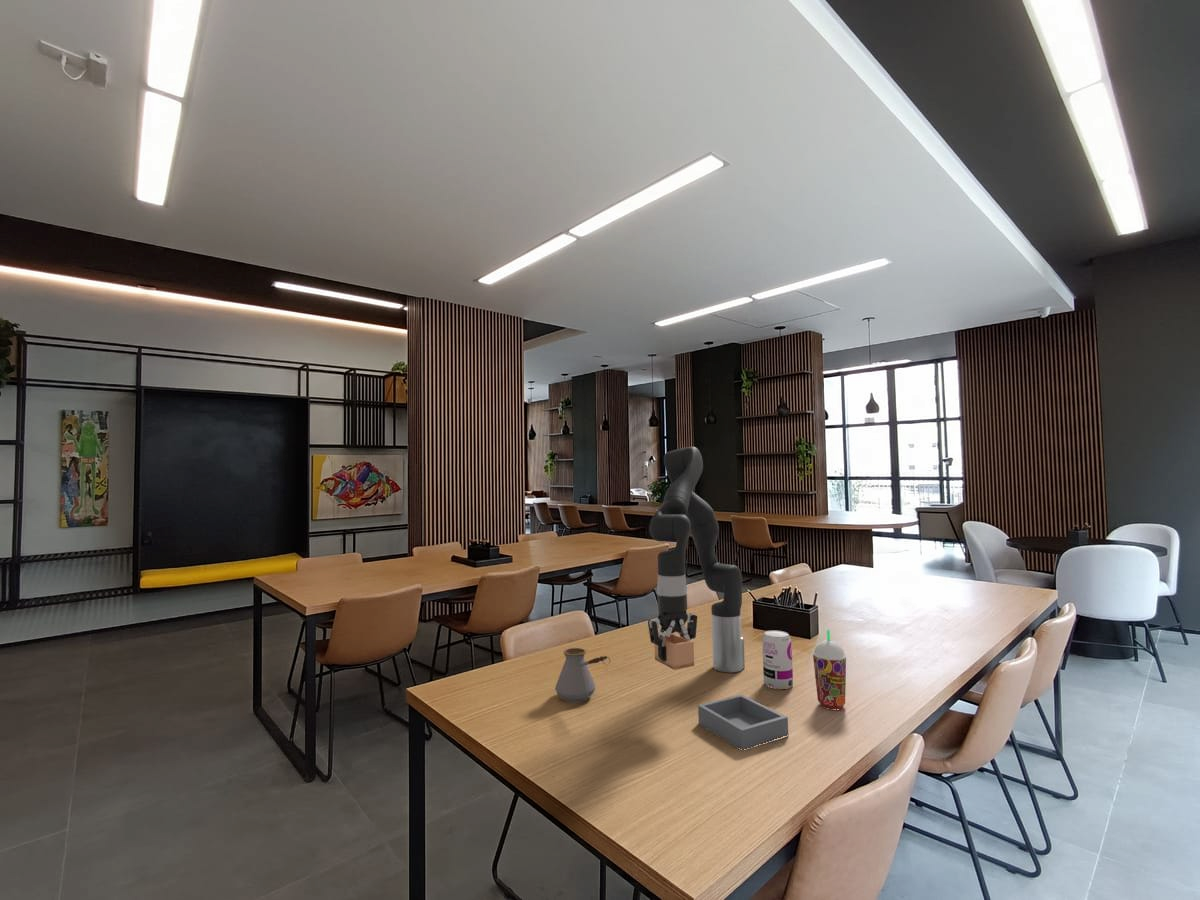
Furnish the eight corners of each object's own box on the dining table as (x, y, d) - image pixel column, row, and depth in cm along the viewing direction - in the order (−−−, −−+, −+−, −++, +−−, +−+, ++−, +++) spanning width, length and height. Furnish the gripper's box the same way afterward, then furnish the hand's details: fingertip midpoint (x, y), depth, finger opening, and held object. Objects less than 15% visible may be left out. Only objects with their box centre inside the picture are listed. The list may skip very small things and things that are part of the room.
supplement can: (794, 682, 162) (792, 631, 163) (791, 692, 155) (789, 638, 156) (766, 678, 166) (764, 628, 167) (762, 688, 158) (760, 635, 159)
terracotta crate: (674, 655, 145) (673, 632, 145) (694, 665, 137) (693, 641, 137) (654, 659, 142) (654, 636, 142) (674, 669, 134) (673, 645, 134)
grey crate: (741, 712, 142) (741, 694, 143) (788, 736, 128) (787, 717, 128) (698, 723, 136) (698, 705, 136) (742, 751, 122) (742, 730, 122)
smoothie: (834, 715, 139) (830, 635, 140) (807, 704, 147) (804, 628, 148) (855, 708, 143) (852, 631, 144) (829, 697, 150) (826, 624, 152)
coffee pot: (547, 696, 156) (547, 642, 157) (580, 686, 162) (580, 635, 163) (590, 721, 138) (589, 661, 139) (625, 709, 145) (624, 652, 146)
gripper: (686, 586, 147) (688, 650, 146) (640, 592, 141) (642, 658, 140) (703, 591, 140) (705, 657, 139) (656, 597, 134) (658, 667, 133)
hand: (674, 658), depth 139 cm, fingers closed on terracotta crate, 6 cm apart
